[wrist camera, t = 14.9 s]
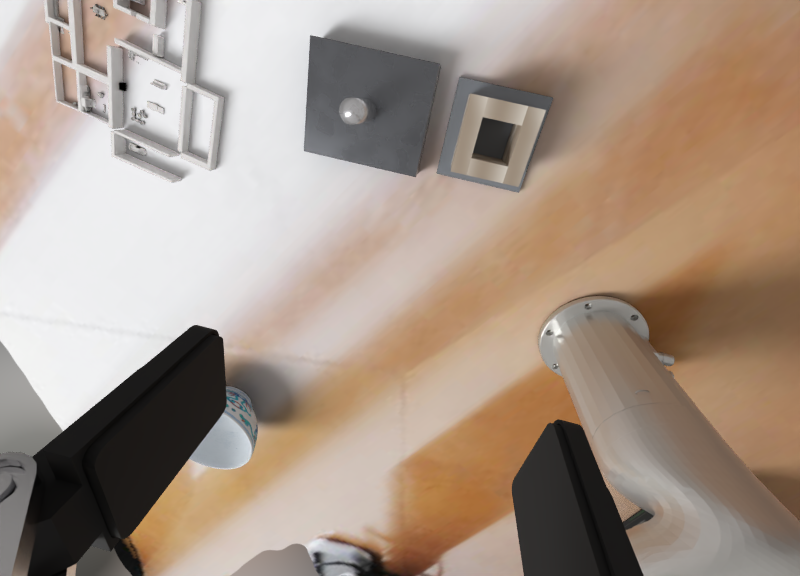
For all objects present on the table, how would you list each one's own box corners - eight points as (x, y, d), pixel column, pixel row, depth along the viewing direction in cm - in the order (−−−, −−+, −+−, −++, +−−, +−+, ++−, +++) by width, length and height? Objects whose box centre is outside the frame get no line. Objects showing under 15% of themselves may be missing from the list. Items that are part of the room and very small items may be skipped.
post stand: (440, 66, 33) (436, 55, 26) (417, 173, 38) (408, 188, 31) (319, 39, 33) (283, 21, 26) (312, 148, 38) (279, 157, 31)
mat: (551, 97, 33) (553, 97, 32) (517, 191, 37) (518, 192, 37) (459, 77, 33) (459, 76, 33) (436, 172, 37) (436, 173, 37)
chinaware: (175, 377, 59) (139, 412, 52) (242, 357, 55) (211, 392, 48) (226, 436, 65) (200, 474, 58) (291, 422, 60) (270, 462, 53)
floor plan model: (259, 213, 43) (251, 218, 41) (65, 127, 41) (48, 128, 40) (295, 45, 34) (286, 41, 32) (49, -73, 33) (26, -83, 31)
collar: (534, 109, 33) (546, 110, 28) (510, 177, 36) (518, 186, 32) (468, 95, 33) (470, 93, 29) (451, 163, 36) (450, 171, 32)
